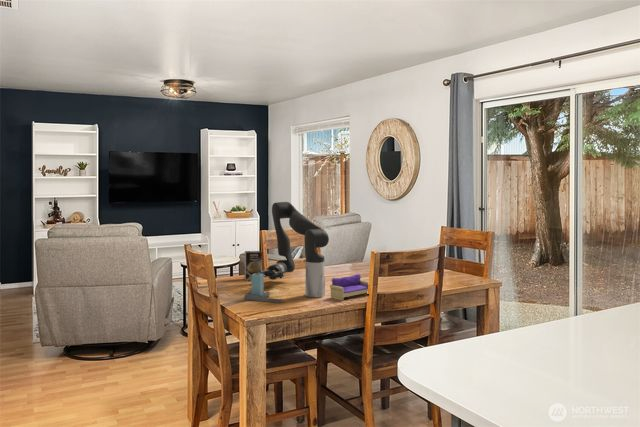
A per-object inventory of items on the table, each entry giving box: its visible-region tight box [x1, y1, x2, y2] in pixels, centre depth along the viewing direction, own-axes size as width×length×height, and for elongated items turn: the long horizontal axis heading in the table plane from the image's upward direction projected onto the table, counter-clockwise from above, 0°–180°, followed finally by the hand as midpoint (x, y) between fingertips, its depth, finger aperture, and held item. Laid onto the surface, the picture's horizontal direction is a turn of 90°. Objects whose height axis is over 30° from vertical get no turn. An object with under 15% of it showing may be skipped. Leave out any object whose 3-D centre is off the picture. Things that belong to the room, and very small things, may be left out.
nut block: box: [250, 273, 265, 295], centre depth 264 cm, size 4×4×11 cm
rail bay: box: [243, 290, 284, 304], centre depth 262 cm, size 19×10×2 cm, turn 75°
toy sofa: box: [329, 273, 369, 302], centre depth 271 cm, size 21×9×10 cm, turn 132°
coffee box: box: [243, 250, 263, 282], centre depth 309 cm, size 9×6×16 cm
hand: (265, 276), depth 274 cm, fingers open, 8 cm apart
